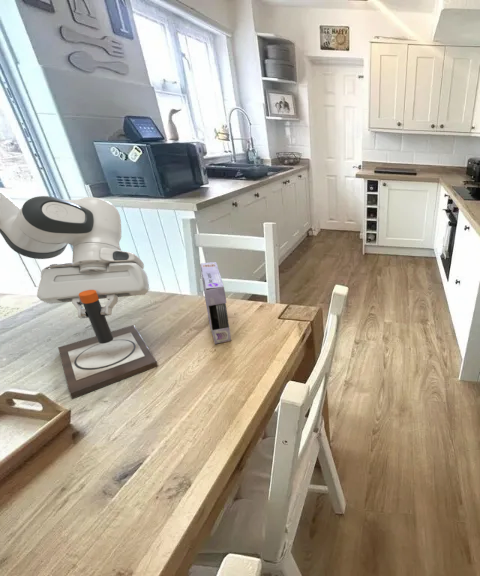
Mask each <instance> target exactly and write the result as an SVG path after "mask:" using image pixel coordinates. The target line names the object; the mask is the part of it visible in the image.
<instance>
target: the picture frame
mask: <svg viewBox="0 0 480 576" xmlns="http://www.w3.org/2000/svg"><path fill="white" fill-rule="evenodd" d="M111 333H112V336H113V340H112V341H110V342H108V343H104V344H101V343H99V342H98V339H97V337H96V335H95V336H91V337H87V338H85V339H82V340H78V341H74V342H71V343H68V344H64V345H61V346H58V347H57V349H58V353H59V357H60V361H61V365H62V369H63V372H64V377H65V381H66V384H67V387H68V392H69V395H70V398H71V399H76V398H79V397H81V396H83V395H86V394H89V393H91V392H94V391H97V390H99V389H102V388H104V387H106V386H107V387H108V386H109V385H112V384H115V383H118V382H120V381H123V380H125V379H128V378H130V377H133V376H136V375H139V374H141V373H143V372H146V371H149V370H151V369H154V368H157V367H159V365H158V361H157V359H156V358H155V357H154V355H153V353H152V352H151V350H150V348H149V347H148V345H147V344H146V341H144V338H142V336H141V334H140V332H139V330H138V329H137V328H136V326H135V325H134V324H132V325H129V326H126V327H122V328H119V329H115V330H111Z"/></svg>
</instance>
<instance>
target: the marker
mask: <svg viewBox="0 0 480 576" xmlns="http://www.w3.org/2000/svg"><path fill="white" fill-rule="evenodd" d="M79 297H80V299H81V302H82V303H83V305H82V306H83V308H84V309H85V310H86V313H87V315H88V317H89V318H88V320H89V322H90V325H91V327H92V329H93V332H94V334H95V336H96V337H97V339H98V342H99V343H101V344H104V343H108V342H110V341H112V340H113V336H112V333H111V332H112V330H111V328H110V326H109V322H108V321H107V318H106V317H107V316H103V315H101V313H100V312H101V307H102V305H101V302H100V299H99V298H98V295H97V292H96V291H95V290H86V291H83V292H81V293H79Z"/></svg>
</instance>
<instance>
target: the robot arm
mask: <svg viewBox="0 0 480 576" xmlns="http://www.w3.org/2000/svg"><path fill="white" fill-rule="evenodd" d="M121 220H122V219H121V214H120V212H119V210H118V209H117V207H116V206H115V205H114V204H113V203H112V202H109V201H108V200H105V199H102V198H99V197H94V196H87V197H82V198H79V199H64V198H58V197H55V196H51V195H50V196H49V195H40V196H34V197H31V198H29V199H28V200H26V201H25V202H24V203H23V205H22V206H21V207H20V206H19V205H18V204H17V203H16V202H14V200H12V199H11V198H10V197H9V196H8V195H6V194H5V193H4V192H3V191H2V190H0V235H1V237H2V238H3V240H4V242H5V243H6V245H8V246H9V248H11V250H13V251H14V252H15V253H17V254H19V255H22V256H23V257H26V258H30V259H33V260H34V259H35V260H47V259H48V260H49V259H52V258H56V257H58V256H60V255H62V253H64V251H65V250H66V248H67V246H68V245H70V246H72V262H69V263H68V262H67V263H66V262H65V263H54V264H50V265H48V266H46V267H44V268H43V269H42V270H41V272H40V281H39V284H38V287H37V292H36V297H37V298H38V299H39V300H40V301H42V302H44V303H46V304H49V305H52V304H62V303H63V304H64V303H72V304H73V306H74V307H75V308H76V310H77V317H78V318H80V319H89V317H88V315H87V313H86V310H85V308H84V305H83V303H82V302H81V299H80V297H79V293H81V292H83V291H86V290H95V291H96V292H97V295H98V298H99V300H105V299H106V300H108V301H107V302H106V304H105V306H101V312H100V313H101V315H103V316H105V317H107V316H108V317H109V316H112V314H113V313H112V311H113V309H114V308H115V306H116V304H117V303H118V302H119V298H123V297H124V298H125V297H134V296H145V295H147V293H149V291H150V287H149V286H150V284H149V278H148V274H147V273H146V271H145V270H144V269H145V265H144V262H143V260H142V259H141V258H140V257H139V256H138V255H136V254H135V253H133V252H130V251H125V250H122V249H121V246H120V242H121V241H122V221H121Z"/></svg>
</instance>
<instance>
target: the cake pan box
mask: <svg viewBox="0 0 480 576" xmlns="http://www.w3.org/2000/svg"><path fill="white" fill-rule="evenodd" d="M199 266H200V274H201V275H200V276H201V280H202V286H203V287H202V288H203V294H204V300H205V306H206V311H207V319H208V322H209V327H210V331H211V335H212V339H213V343H214V345H219V344H223V343H227V342H232V334H231V329H230V324H229V316H228V310H227V297H226V291H225V286H224V282H223V279H222V276H221V273H220V270H219V266H218V263H217V262H216V261H215V262H213V261H212V262H211V261H210V262H202V263H200V264H199Z"/></svg>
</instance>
